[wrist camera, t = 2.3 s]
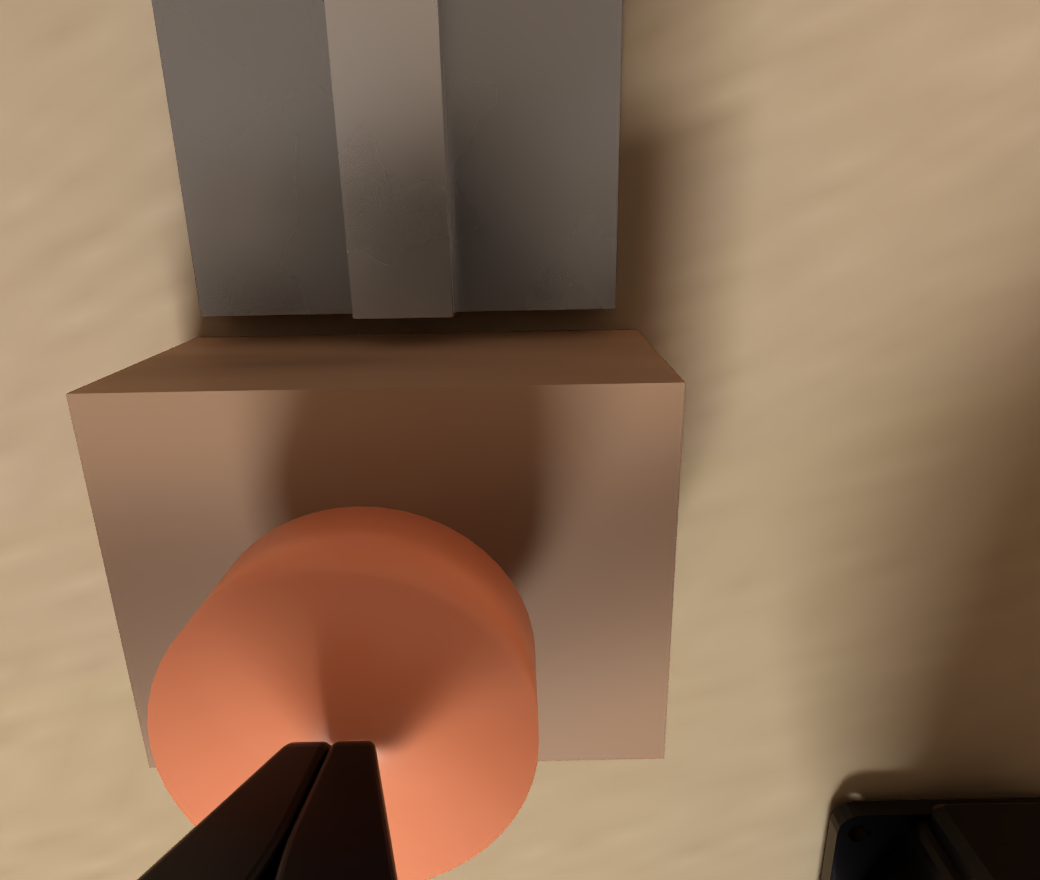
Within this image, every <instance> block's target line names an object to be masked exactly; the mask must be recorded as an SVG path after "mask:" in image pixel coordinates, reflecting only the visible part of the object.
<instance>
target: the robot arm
mask: <svg viewBox="0 0 1040 880" xmlns="http://www.w3.org/2000/svg"><path fill="white" fill-rule="evenodd" d="M855 825H857V826H855ZM853 826H854V827H853ZM137 880H398V878H397V872H396V866H395V860H394V854H393V848H392V842H391V836H390V830H389V824H388V818H387V812H386V806H385V800H384V794H383V788H382V782H381V776H380V770H379V764H378V758H377V752H376V747H375V744H374V743H373V742H371V741H338V742H336V743H334V744H333V745H330V744H328V743H327V742H324V741H321V742H292V743H289V744H287V745H285V746H284V747H282V748H281V749H280V750H279V751H278V752H277V753H276V754H274V755H273V756H272V757H271V758H270V759H269V760H268V761H267V762H266V763H265V764H263V765H262V766H261V767H260V768H259V769H258V770H257V771H256V772H255V773H254V774H253V775H251V776H250V777H249V778H248V779H247V780H246V781H245V782H244V783H243V784H242V785H240V786H239V787H238V788H237V789H236V790H235V791H234V792H233V793H232V794H231V795H229V796H228V797H227V798H226V799H225V800H224V801H223V802H222V803H221V804H220V805H219V806H217V807H216V808H215V809H214V810H213V811H212V812H211V813H210V814H209V815H208V816H206V817H205V818H204V819H203V820H202V821H201V822H200V823H199V824H198V825H197V826H196V827H194V828H193V829H192V830H191V831H190V832H189V833H188V834H187V835H186V836H185V837H183V838H182V839H181V840H180V841H179V842H178V843H177V844H176V845H175V846H174V847H172V848H171V849H170V850H169V851H168V852H167V853H166V854H165V855H164V856H163V857H162V858H160V859H159V860H158V861H157V862H156V863H155V864H154V865H153V866H152V867H151V868H149V869H148V870H147V871H146V872H145V873H144V874H143V875H142V876H141V877H140V878H138V879H137ZM821 880H1040V798H1007V799H948V800H890V801H852V802H846V803H844V804H842V805H840V806H838V807H837V808H836V809H835V810H834V811H833V812H832V815H831V817H830V821H829V827H828V834H827V841H826V847H825V854H824V861H823V867H822V874H821Z"/></svg>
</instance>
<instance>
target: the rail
mask: <svg viewBox="0 0 1040 880" xmlns="http://www.w3.org/2000/svg"><path fill="white" fill-rule="evenodd" d="M622 3H623V0H152V6H153V12H154V19H155V25H156V31H157V38H158V44H159V50H160V57H161V63H162V69H163V76H164V82H165V88H166V95H167V101H168V108H169V114H170V120H171V127H172V133H173V139H174V146H175V152H176V158H177V165H178V171H179V178H180V184H181V190H182V197H183V203H184V209H185V216H186V222H187V228H188V235H189V241H190V248H191V254H192V260H193V267H194V273H195V279H196V286H197V292H198V298H199V305H200V311H201V316H249V315H302V314H353V319H379V318H433V317H453V315H454V313H455V312H463V311H517V310H571V309H615V299H616V257H617V215H618V172H619V130H620V88H621V45H622Z"/></svg>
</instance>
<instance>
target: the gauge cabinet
mask: <svg viewBox="0 0 1040 880" xmlns="http://www.w3.org/2000/svg"><path fill="white" fill-rule="evenodd" d="M684 394H685V382H684V381H683V380H682V379H681V377H680V376H679V375H678V374H677V373H676V372H675V371H674V370H673V369H672V368H671V367H670V366H669V364H668V363H667V362H666V361H665V360H664V359H663V358H662V357H661V356H660V355H659V354H658V352H657V351H656V350H655V349H654V348H653V347H652V346H651V345H650V344H649V343H648V342H647V340H646V339H645V338H644V337H643V336H642V335H641V334H640V333H639V332H638V331H637V330H585V331H531V332H477V333H423V334H369V335H315V336H261V337H208V338H195V339H192V340H190V341H188V342H185V343H183V344H181V345H178V346H176V347H174V348H171V349H169V350H167V351H164V352H162V353H160V354H157V355H155V356H153V357H150V358H148V359H146V360H144V361H141V362H139V363H137V364H134V365H132V366H130V367H127V368H125V369H123V370H120V371H118V372H116V373H113V374H111V375H109V376H106V377H104V378H102V379H99V380H97V381H95V382H92V383H90V384H88V385H85V386H83V387H81V388H78V389H76V390H74V391H72V392H69V393H67V394H66V396H67V401H68V405H69V410H70V414H71V419H72V423H73V428H74V432H75V437H76V441H77V446H78V450H79V454H80V459H81V463H82V468H83V472H84V477H85V481H86V486H87V490H88V495H89V499H90V504H91V508H92V513H93V517H94V521H95V526H96V530H97V535H98V539H99V544H100V548H101V553H102V557H103V562H104V566H105V571H106V575H107V579H108V584H109V588H110V593H111V597H112V602H113V606H114V611H115V615H116V620H117V624H118V629H119V633H120V638H121V642H122V646H123V651H124V655H125V660H126V664H127V669H128V673H129V678H130V682H131V687H132V691H133V696H134V700H135V705H136V709H137V713H138V718H139V722H140V727H141V731H142V736H143V740H144V745H145V749H146V754H147V758H148V763H149V767H150V768H156V765H155V761H154V758H153V755H152V751H151V748H150V742H149V735H148V728H147V717H148V701H149V696H150V691H151V685H152V682H153V680H154V677H155V674H156V671H157V669H158V666H159V664H160V662H161V660H162V658H163V657H164V655H165V653H166V651H167V650H168V648H169V646H170V644H171V643H172V642H173V641H174V639H175V638H176V637H177V636H178V634H179V633H180V632H181V630H182V629H183V628H184V627H185V625H186V624H187V623H188V621H189V620H190V619H191V618H192V616H193V615H194V614H195V612H196V611H197V610H198V609H199V607H200V606H201V605H202V603H203V602H204V601H205V600H206V598H207V597H208V596H209V594H210V593H211V592H212V591H213V589H214V588H215V587H216V585H217V584H218V583H219V582H220V580H221V579H222V578H223V576H224V575H225V574H226V573H227V571H228V570H229V569H230V568H231V566H232V565H233V564H234V563H235V561H236V560H237V559H238V558H239V556H240V555H241V554H242V553H243V552H244V551H245V550H247V549H248V548H249V547H250V546H251V545H252V544H253V543H254V542H255V541H257V540H258V539H259V538H261V537H262V536H264V535H265V534H267V533H268V532H270V531H271V530H273V529H275V528H277V527H279V526H281V525H283V524H285V523H287V522H289V521H291V520H293V519H296V518H299V517H302V516H304V515H307V514H310V513H313V512H318V511H323V510H328V509H333V508H342V507H355V506H363V507H382V508H389V509H395V510H401V511H406V512H409V513H413V514H416V515H419V516H423V517H426V518H429V519H431V520H433V521H436V522H438V523H441V524H443V525H445V526H447V527H449V528H451V529H453V530H454V531H456V532H458V533H460V534H461V535H463V536H465V537H467V538H468V539H469V540H471V541H472V542H473V543H475V544H476V545H477V546H479V547H480V548H481V549H483V550H484V551H485V552H486V553H487V554H488V555H489V556H490V557H491V558H492V559H493V560H494V561H495V562H496V563H497V564H498V565H499V566H500V567H501V568H502V570H503V571H504V572H505V573H506V575H507V576H508V577H509V578H510V580H511V581H512V583H513V584H514V586H515V588H516V589H517V591H518V593H519V595H520V596H521V598H522V600H523V602H524V605H525V607H526V610H527V612H528V615H529V617H530V621H531V626H532V630H533V634H534V642H535V653H536V678H537V703H538V728H539V748H538V761H561V760H619V759H664V752H665V734H666V716H667V698H668V680H669V662H670V644H671V626H672V608H673V591H674V573H675V555H676V537H677V519H678V501H679V483H680V465H681V447H682V429H683V412H684Z"/></svg>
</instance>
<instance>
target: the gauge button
mask: <svg viewBox="0 0 1040 880" xmlns="http://www.w3.org/2000/svg"><path fill="white" fill-rule="evenodd" d="M147 728H148V735H149V742H150V748H151V751H152V755H153V758H154V761H155V765H156V768H157V770H158V772H159V774H160V776H161V779H162V781H163V783H164V785H165V787H166V789H167V790H168V792H169V793H170V795H171V796H172V798H173V800H174V801H175V803H176V804H177V806H178V807H179V808H180V809H181V810H182V812H183V813H184V814H185V815H186V816H187V817H188V819H189V820H190V821H191V822H192V823H193V824H194V825H195V826H197V825H198V824H199V823H200V822H201V821H202V820H203V819H204V818H205V817H206V816H208V815H209V814H210V813H211V812H212V811H213V810H214V809H215V808H216V807H217V806H219V805H220V804H221V803H222V802H223V801H224V800H225V799H226V798H227V797H228V796H229V795H231V794H232V793H233V792H234V791H235V790H236V789H237V788H238V787H239V786H240V785H242V784H243V783H244V782H245V781H246V780H247V779H248V778H249V777H250V776H251V775H253V774H254V773H255V772H256V771H257V770H258V769H259V768H260V767H261V766H262V765H263V764H265V763H266V762H267V761H268V760H269V759H270V758H271V757H272V756H273V755H274V754H276V753H277V752H278V751H279V750H280V749H281V748H282V747H284V746H285V745H287V744H289V743H292V742H321V741H324V742H327V743H328V744H330V745H333V744H334V743H336V742H338V741H371V742H373V743H374V744H375V747H376V752H377V758H378V764H379V770H380V776H381V782H382V788H383V794H384V800H385V806H386V812H387V818H388V824H389V830H390V836H391V842H392V848H393V854H394V860H395V866H396V872H397V878H398V880H426V879H430V878H432V877H435V876H437V875H440V874H442V873H445V872H447V871H450V870H452V869H453V868H455V867H457V866H459V865H461V864H463V863H464V862H466V861H468V860H470V859H471V858H473V857H474V856H475V855H477V854H478V853H480V852H481V851H482V850H484V849H485V848H487V847H488V846H489V845H490V844H491V843H492V842H493V841H494V840H495V839H496V838H497V837H498V836H499V835H501V834H502V833H503V831H504V830H505V829H506V828H507V826H508V825H509V824H510V823H511V821H512V820H513V819H514V818H515V816H516V815H517V813H518V811H519V810H520V808H521V806H522V805H523V803H524V801H525V799H526V797H527V795H528V792H529V790H530V787H531V785H532V782H533V779H534V775H535V770H536V766H537V762H538V748H539V728H538V703H537V678H536V653H535V642H534V634H533V630H532V626H531V621H530V617H529V615H528V612H527V610H526V607H525V605H524V602H523V600H522V598H521V596H520V595H519V593H518V591H517V589H516V588H515V586H514V584H513V583H512V581H511V580H510V578H509V577H508V576H507V575H506V573H505V572H504V571H503V570H502V568H501V567H500V566H499V565H498V564H497V563H496V562H495V561H494V560H493V559H492V558H491V557H490V556H489V555H488V554H487V553H486V552H485V551H484V550H483V549H481V548H480V547H479V546H477V545H476V544H475V543H473V542H472V541H471V540H469V539H468V538H467V537H465V536H463V535H461V534H460V533H458V532H456V531H454V530H453V529H451V528H449V527H447V526H445V525H443V524H441V523H438V522H436V521H433V520H431V519H429V518H426V517H423V516H419V515H416V514H413V513H409V512H406V511H401V510H395V509H389V508H382V507H363V506H355V507H342V508H333V509H328V510H323V511H318V512H313V513H310V514H307V515H304V516H302V517H299V518H296V519H293V520H291V521H289V522H287V523H285V524H283V525H281V526H279V527H277V528H275V529H273V530H271V531H270V532H268V533H267V534H265V535H264V536H262V537H261V538H259V539H258V540H257V541H255V542H254V543H253V544H252V545H251V546H250V547H249V548H248V549H247V550H245V551H244V552H243V553H242V554H241V555H240V556H239V558H238V559H237V560H236V561H235V563H234V564H233V565H232V566H231V568H230V569H229V570H228V571H227V573H226V574H225V575H224V576H223V578H222V579H221V580H220V582H219V583H218V584H217V585H216V587H215V588H214V589H213V591H212V592H211V593H210V594H209V596H208V597H207V598H206V600H205V601H204V602H203V603H202V605H201V606H200V607H199V609H198V610H197V611H196V612H195V614H194V615H193V616H192V618H191V619H190V620H189V621H188V623H187V624H186V625H185V627H184V628H183V629H182V630H181V632H180V633H179V634H178V636H177V637H176V638H175V639H174V641H173V642H172V643H171V644H170V646H169V648H168V650H167V651H166V653H165V655H164V657H163V658H162V660H161V662H160V664H159V666H158V669H157V671H156V674H155V677H154V680H153V682H152V685H151V691H150V696H149V701H148V717H147Z"/></svg>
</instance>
